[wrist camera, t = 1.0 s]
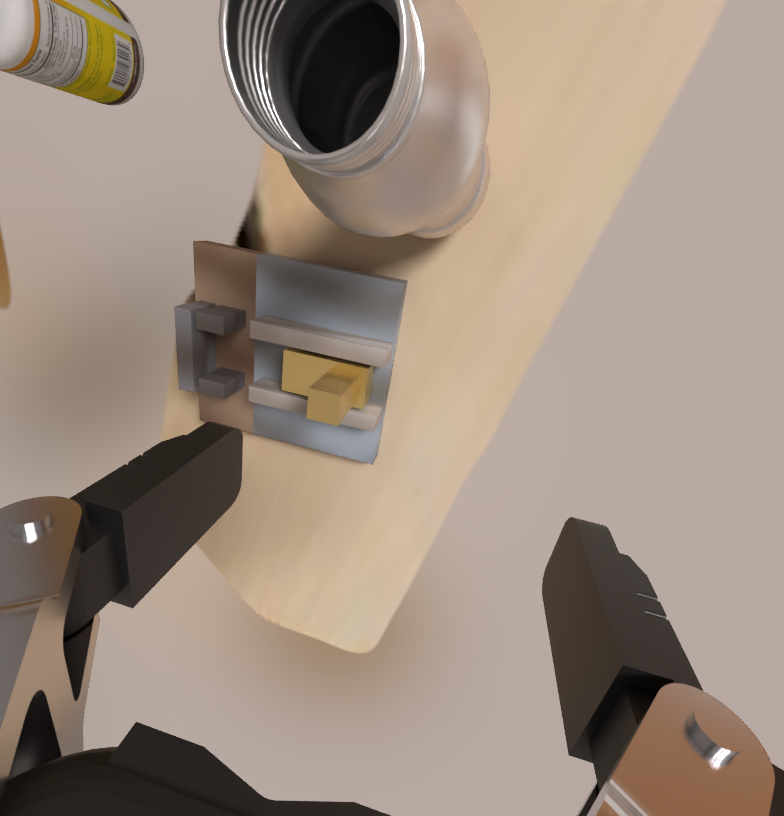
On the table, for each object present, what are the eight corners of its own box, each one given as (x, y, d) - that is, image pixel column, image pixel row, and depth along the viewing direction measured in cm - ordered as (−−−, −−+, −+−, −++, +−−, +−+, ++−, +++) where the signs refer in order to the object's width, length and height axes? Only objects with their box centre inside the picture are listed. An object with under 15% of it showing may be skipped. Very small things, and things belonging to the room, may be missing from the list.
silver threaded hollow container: (405, 253, 27) (249, 292, 9) (368, 142, 25) (77, -79, 7) (502, 214, 25) (542, 171, 7) (471, 91, 23) (419, -391, 5)
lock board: (206, 240, 30) (164, 241, 26) (407, 280, 28) (394, 288, 24) (210, 412, 36) (177, 434, 32) (377, 455, 34) (363, 484, 30)
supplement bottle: (57, 16, 26) (-175, -100, 17) (127, -15, 25) (-85, -160, 16) (95, 119, 28) (-95, 63, 19) (162, 95, 27) (-9, 23, 18)
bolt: (296, 342, 30) (253, 366, 24) (375, 360, 29) (350, 389, 24) (293, 380, 31) (252, 412, 26) (370, 399, 30) (344, 435, 25)
